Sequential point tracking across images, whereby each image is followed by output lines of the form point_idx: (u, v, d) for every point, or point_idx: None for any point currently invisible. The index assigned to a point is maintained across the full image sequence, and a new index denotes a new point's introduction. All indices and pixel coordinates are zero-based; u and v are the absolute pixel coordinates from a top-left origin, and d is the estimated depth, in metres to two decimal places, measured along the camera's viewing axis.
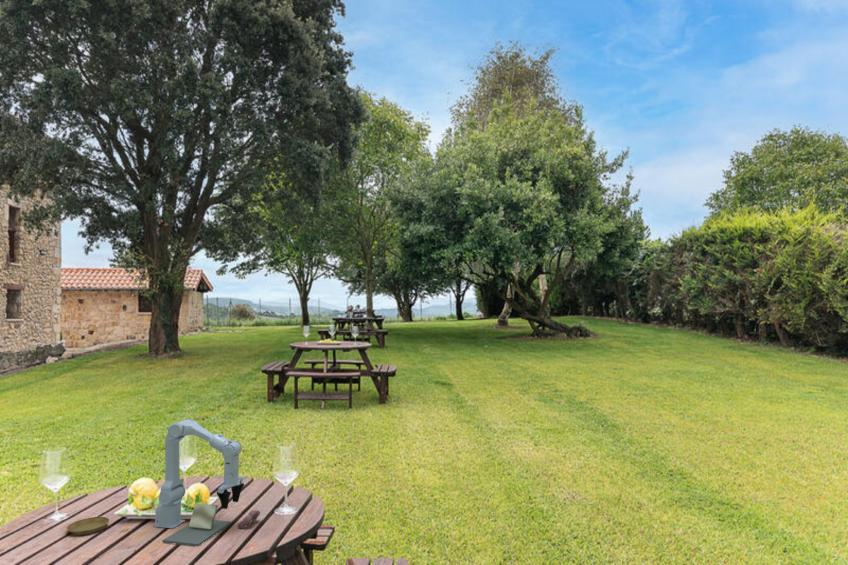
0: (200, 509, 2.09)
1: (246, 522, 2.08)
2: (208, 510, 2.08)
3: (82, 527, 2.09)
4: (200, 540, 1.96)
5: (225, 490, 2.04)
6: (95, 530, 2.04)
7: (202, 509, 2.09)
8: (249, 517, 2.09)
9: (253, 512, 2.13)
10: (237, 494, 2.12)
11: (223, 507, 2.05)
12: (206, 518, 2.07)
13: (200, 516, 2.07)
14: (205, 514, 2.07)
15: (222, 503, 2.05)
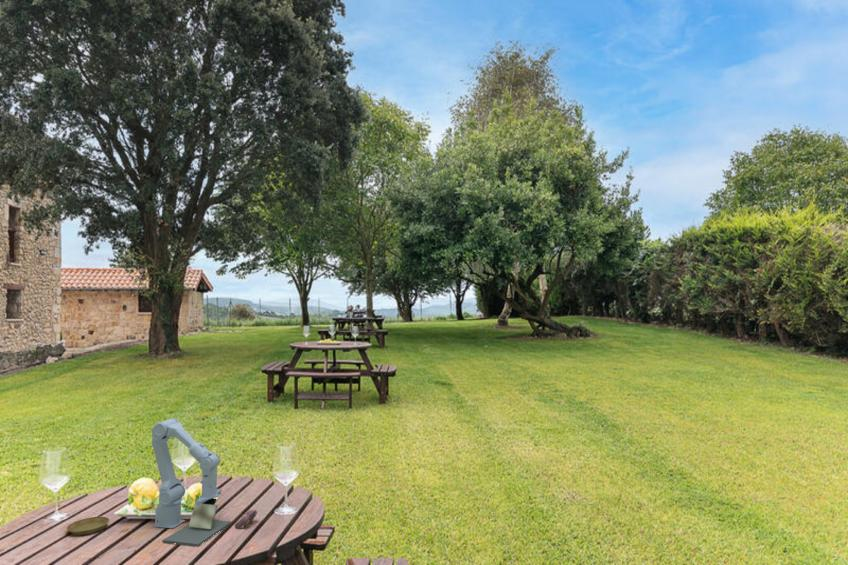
0: (200, 509, 2.09)
1: (243, 522, 2.09)
2: (208, 510, 2.08)
3: (82, 527, 2.09)
4: (200, 540, 1.96)
5: (209, 499, 2.11)
6: (95, 530, 2.04)
7: (201, 509, 2.08)
8: (246, 517, 2.10)
9: (250, 512, 2.13)
10: None
11: None
12: (206, 518, 2.06)
13: (200, 516, 2.07)
14: (205, 514, 2.07)
15: None
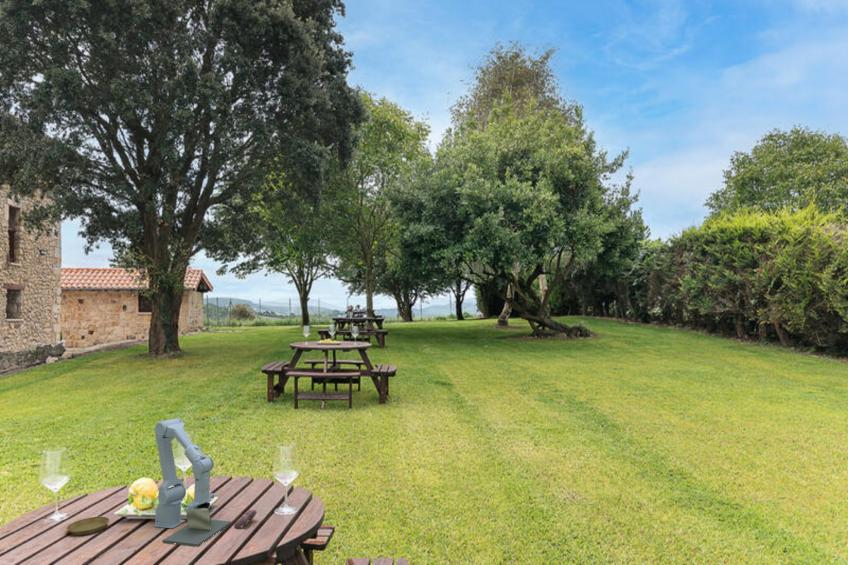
0: (193, 513, 2.04)
1: (243, 522, 2.09)
2: (201, 514, 2.04)
3: (82, 527, 2.09)
4: (200, 540, 1.96)
5: (201, 504, 2.05)
6: (95, 530, 2.04)
7: (194, 513, 2.04)
8: (246, 517, 2.10)
9: (250, 512, 2.13)
10: None
11: None
12: (202, 521, 2.04)
13: (195, 519, 2.05)
14: (200, 518, 2.04)
15: None
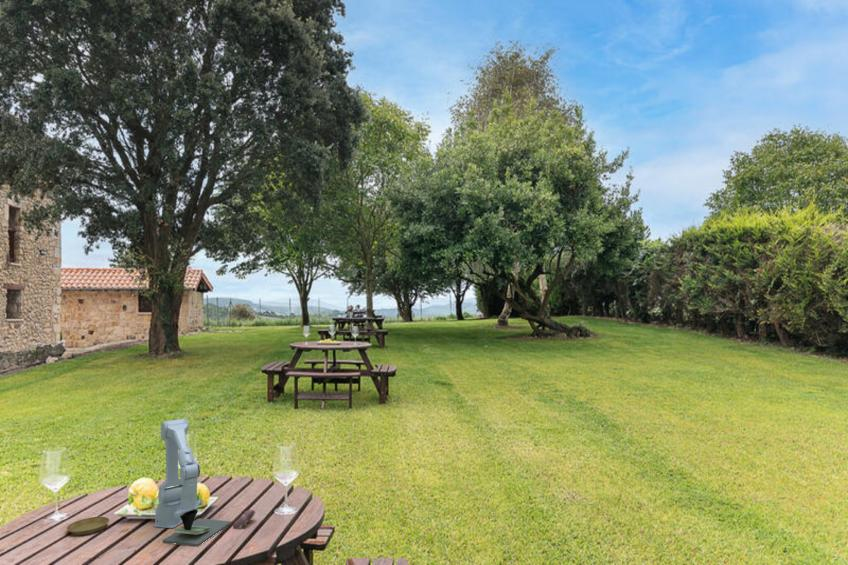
0: None
1: (241, 522, 2.09)
2: None
3: (82, 527, 2.09)
4: (200, 540, 1.96)
5: (188, 511, 1.97)
6: (95, 530, 2.04)
7: None
8: (244, 517, 2.10)
9: (248, 512, 2.13)
10: None
11: (186, 529, 1.98)
12: None
13: None
14: None
15: (185, 525, 1.98)
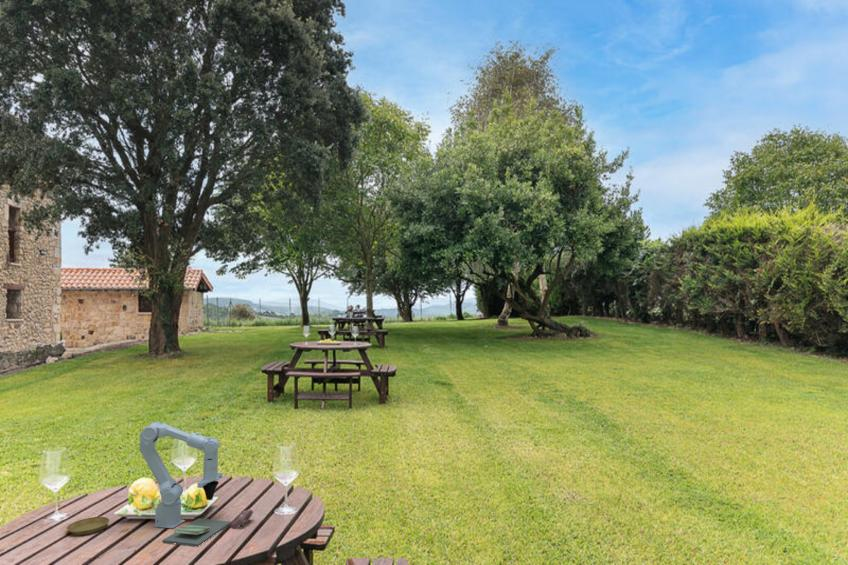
0: None
1: (239, 522, 2.09)
2: None
3: (82, 527, 2.09)
4: (200, 540, 1.96)
5: (209, 482, 2.16)
6: (95, 530, 2.04)
7: None
8: (242, 516, 2.10)
9: (246, 511, 2.13)
10: None
11: (207, 498, 2.16)
12: None
13: None
14: None
15: (206, 495, 2.16)
